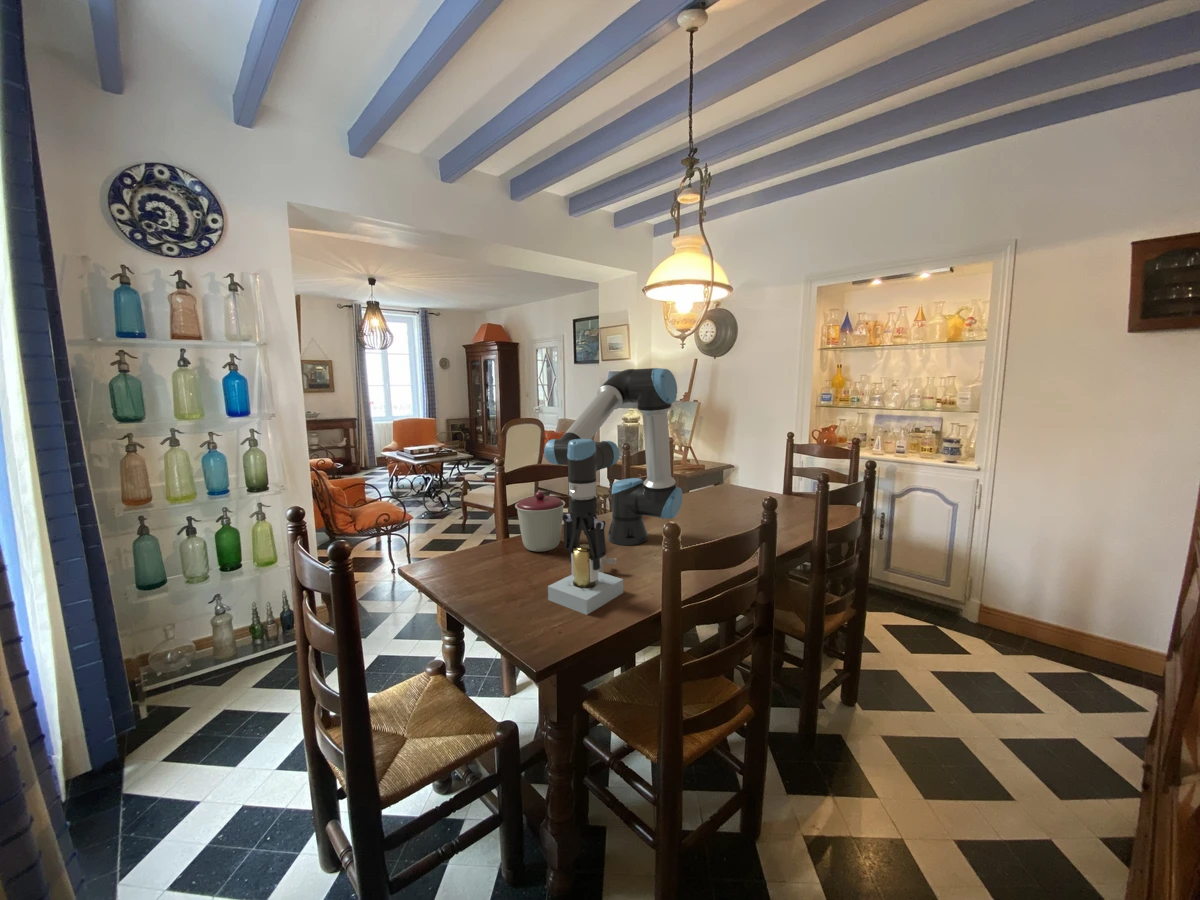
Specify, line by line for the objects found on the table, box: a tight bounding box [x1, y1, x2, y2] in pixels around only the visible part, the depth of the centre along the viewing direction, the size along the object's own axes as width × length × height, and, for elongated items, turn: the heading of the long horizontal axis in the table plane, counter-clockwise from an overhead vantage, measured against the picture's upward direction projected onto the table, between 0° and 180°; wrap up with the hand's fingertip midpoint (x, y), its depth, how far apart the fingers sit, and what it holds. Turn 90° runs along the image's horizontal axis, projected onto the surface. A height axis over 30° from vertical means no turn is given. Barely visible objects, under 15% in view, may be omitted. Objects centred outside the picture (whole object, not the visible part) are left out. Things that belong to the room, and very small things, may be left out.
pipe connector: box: [598, 555, 618, 573], centre depth 149 cm, size 10×10×10 cm
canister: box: [514, 490, 566, 553], centre depth 174 cm, size 18×18×21 cm
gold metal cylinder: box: [573, 543, 596, 589], centre depth 132 cm, size 6×6×14 cm
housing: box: [547, 572, 624, 616], centre depth 133 cm, size 16×14×5 cm
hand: (584, 577), depth 132 cm, fingers closed on gold metal cylinder, 6 cm apart
